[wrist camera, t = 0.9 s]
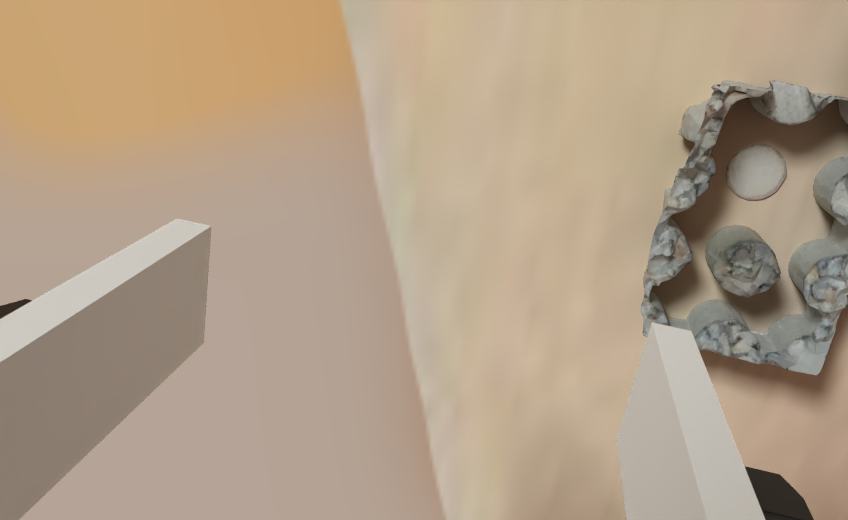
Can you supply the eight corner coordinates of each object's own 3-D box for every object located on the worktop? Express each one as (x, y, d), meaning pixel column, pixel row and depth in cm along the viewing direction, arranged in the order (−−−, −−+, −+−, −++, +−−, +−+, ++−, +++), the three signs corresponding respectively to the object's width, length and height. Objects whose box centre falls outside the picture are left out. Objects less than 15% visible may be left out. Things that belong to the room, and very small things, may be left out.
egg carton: (692, 62, 29) (712, 71, 25) (890, 101, 29) (941, 116, 25) (619, 307, 33) (627, 347, 29) (793, 348, 32) (825, 394, 28)
